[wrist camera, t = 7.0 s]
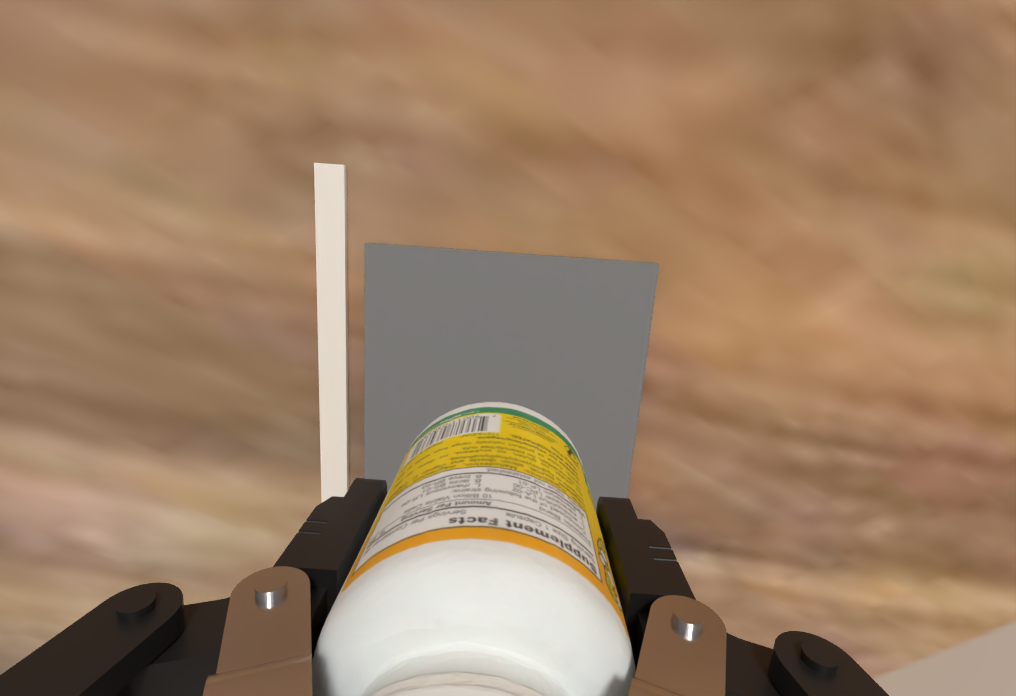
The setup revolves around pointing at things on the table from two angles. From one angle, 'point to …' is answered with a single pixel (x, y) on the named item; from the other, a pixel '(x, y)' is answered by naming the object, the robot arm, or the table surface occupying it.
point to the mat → (506, 348)
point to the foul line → (332, 326)
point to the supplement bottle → (480, 573)
